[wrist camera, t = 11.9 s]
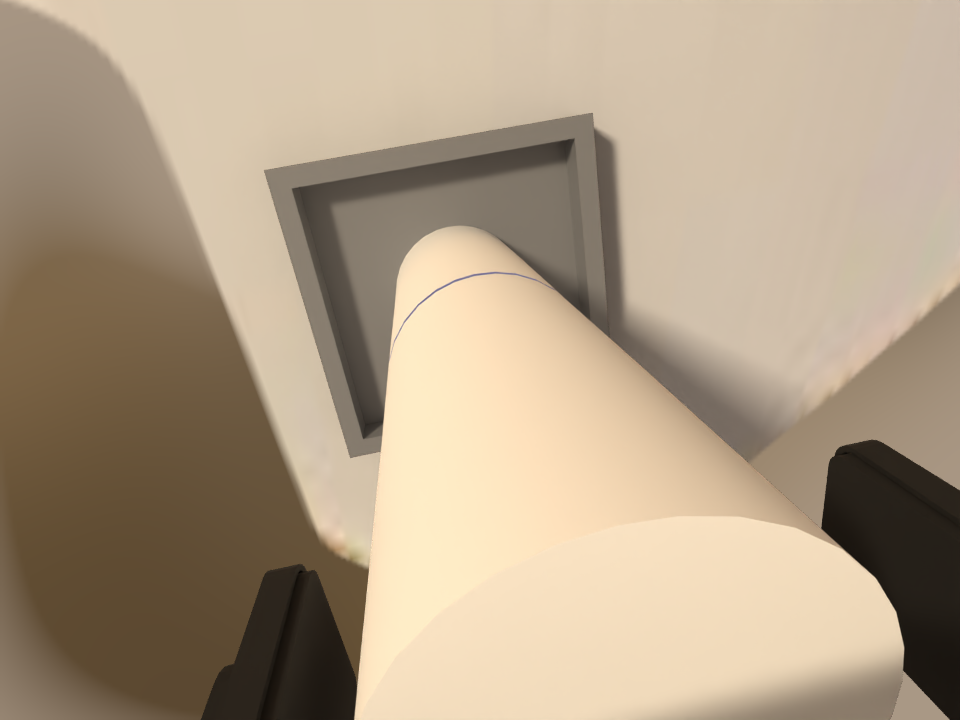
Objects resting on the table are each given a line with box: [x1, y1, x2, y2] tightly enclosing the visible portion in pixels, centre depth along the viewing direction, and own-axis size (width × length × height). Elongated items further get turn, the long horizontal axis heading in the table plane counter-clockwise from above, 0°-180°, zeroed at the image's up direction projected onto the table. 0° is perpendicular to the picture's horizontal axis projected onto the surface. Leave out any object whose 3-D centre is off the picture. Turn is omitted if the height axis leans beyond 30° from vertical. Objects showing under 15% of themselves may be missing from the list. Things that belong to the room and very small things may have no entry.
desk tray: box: [264, 113, 609, 458], centre depth 29 cm, size 16×16×2 cm
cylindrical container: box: [354, 226, 904, 720], centre depth 18 cm, size 7×7×25 cm
